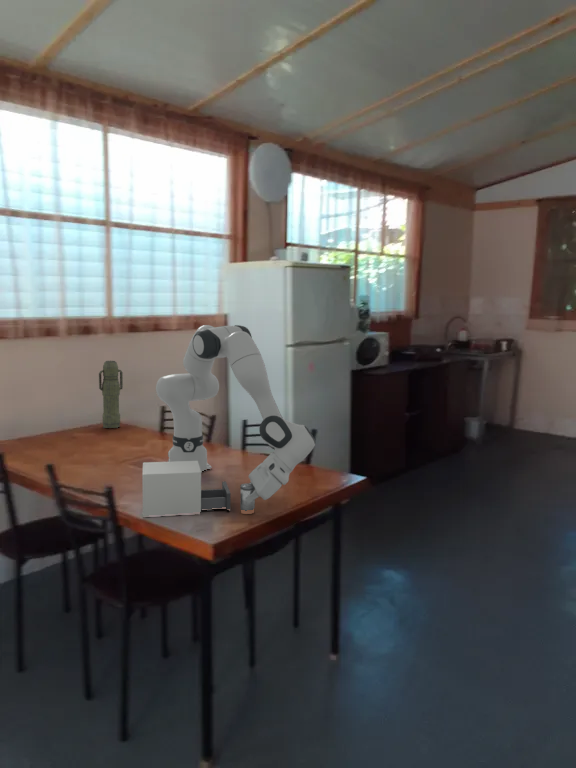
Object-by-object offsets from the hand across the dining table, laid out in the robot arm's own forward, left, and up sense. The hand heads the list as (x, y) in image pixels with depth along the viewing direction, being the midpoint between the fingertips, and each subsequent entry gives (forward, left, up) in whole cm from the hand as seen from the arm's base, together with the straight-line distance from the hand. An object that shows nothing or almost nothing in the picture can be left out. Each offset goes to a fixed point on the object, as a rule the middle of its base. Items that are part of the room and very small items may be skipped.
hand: (245, 498), depth 194 cm
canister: (0, +1, -5) cm, 5 cm away
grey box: (-7, -23, -5) cm, 25 cm away
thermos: (-138, -50, -5) cm, 147 cm away
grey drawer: (-7, -13, -4) cm, 16 cm away
